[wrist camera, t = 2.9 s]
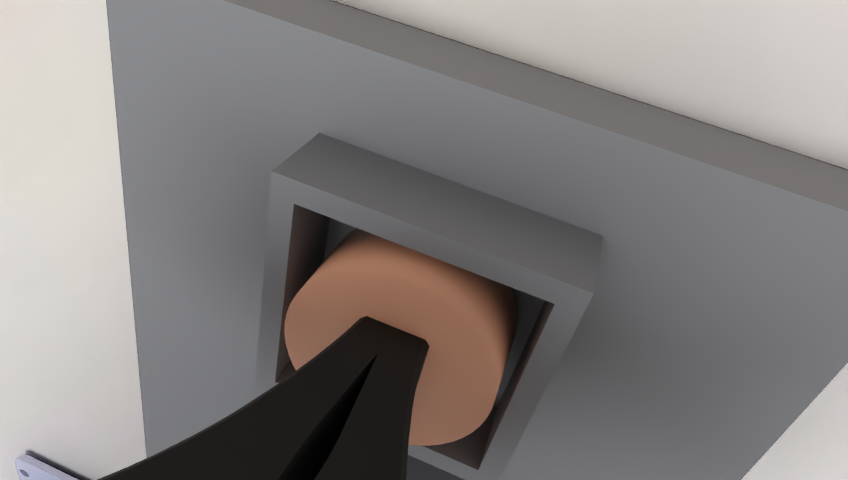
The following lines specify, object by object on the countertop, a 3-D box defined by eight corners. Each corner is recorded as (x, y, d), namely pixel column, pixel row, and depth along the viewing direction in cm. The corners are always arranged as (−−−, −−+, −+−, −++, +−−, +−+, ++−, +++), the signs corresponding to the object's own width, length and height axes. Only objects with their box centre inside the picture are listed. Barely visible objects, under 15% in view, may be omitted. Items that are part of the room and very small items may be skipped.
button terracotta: (485, 406, 14) (462, 474, 13) (318, 336, 15) (276, 393, 14) (546, 263, 12) (527, 327, 10) (341, 186, 13) (294, 235, 11)
